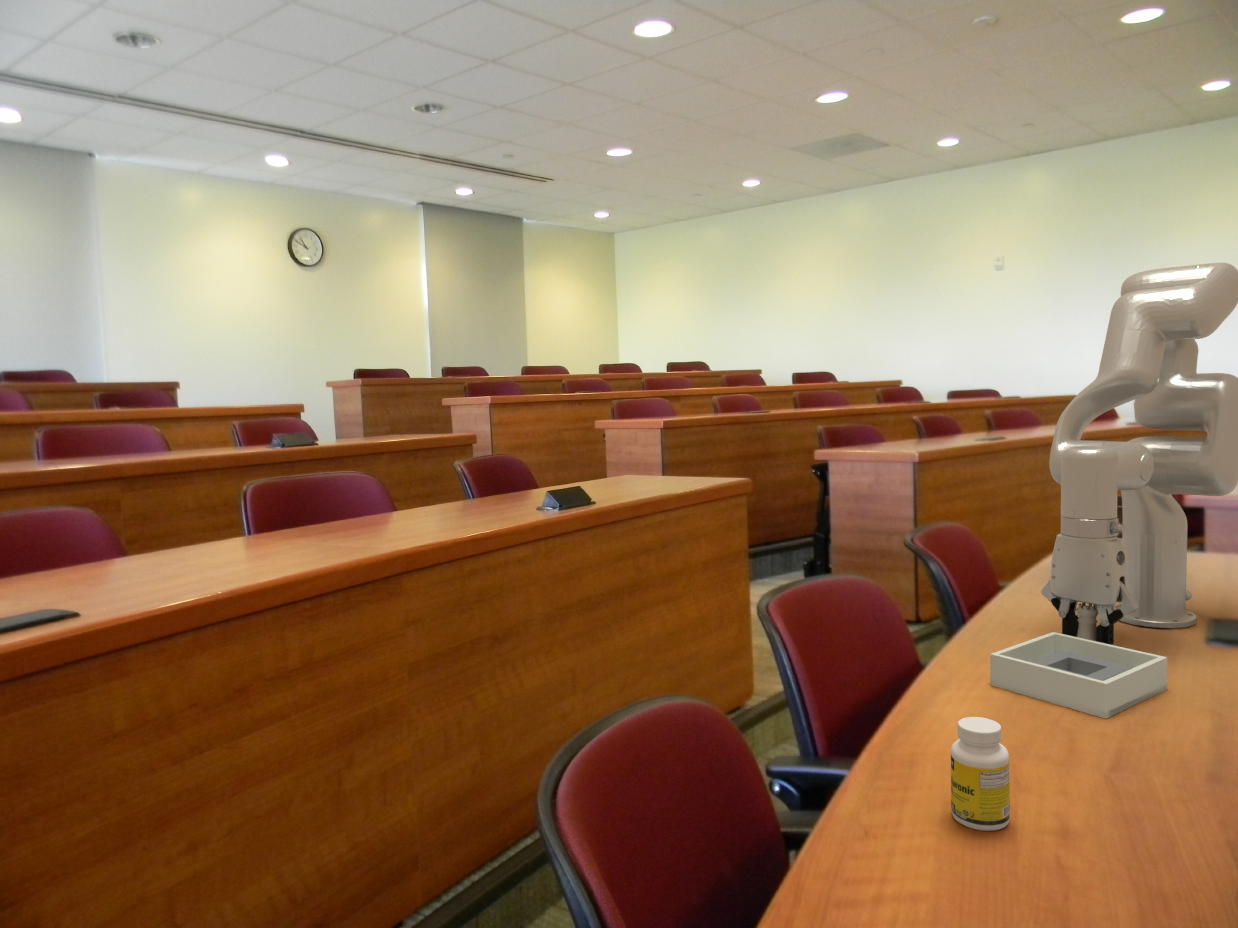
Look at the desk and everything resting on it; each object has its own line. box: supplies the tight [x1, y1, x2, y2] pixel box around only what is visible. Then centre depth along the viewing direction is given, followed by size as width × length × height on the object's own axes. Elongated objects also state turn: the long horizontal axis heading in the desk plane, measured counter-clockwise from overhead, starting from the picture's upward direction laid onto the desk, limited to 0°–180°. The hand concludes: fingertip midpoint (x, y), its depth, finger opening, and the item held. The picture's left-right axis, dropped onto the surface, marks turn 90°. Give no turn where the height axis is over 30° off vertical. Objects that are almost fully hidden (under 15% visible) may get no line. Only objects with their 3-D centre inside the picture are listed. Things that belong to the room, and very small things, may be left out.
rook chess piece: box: [1075, 602, 1099, 641], centre depth 134 cm, size 4×4×8 cm
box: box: [989, 631, 1168, 719], centre depth 121 cm, size 16×16×4 cm
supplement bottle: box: [950, 716, 1011, 832], centre depth 87 cm, size 5×5×10 cm
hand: (1087, 644), depth 134 cm, fingers closed on rook chess piece, 4 cm apart
